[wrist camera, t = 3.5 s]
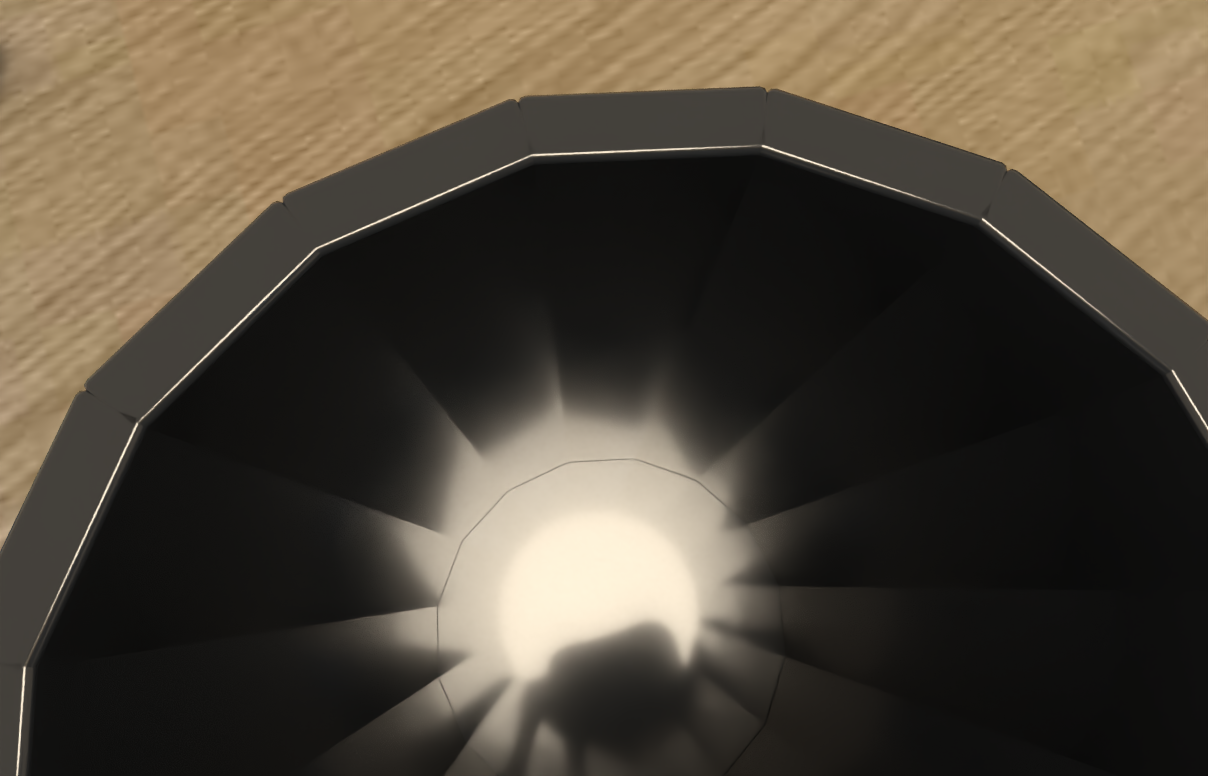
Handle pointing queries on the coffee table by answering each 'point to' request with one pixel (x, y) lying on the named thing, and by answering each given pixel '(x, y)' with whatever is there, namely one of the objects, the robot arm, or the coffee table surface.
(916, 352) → the pen cup
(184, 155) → the coffee table surface
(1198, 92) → the coffee table surface
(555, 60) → the coffee table surface
